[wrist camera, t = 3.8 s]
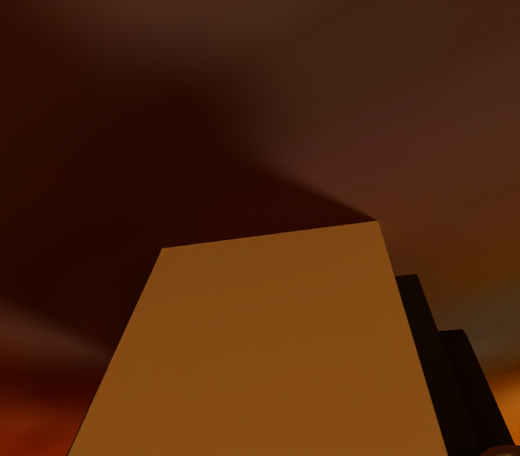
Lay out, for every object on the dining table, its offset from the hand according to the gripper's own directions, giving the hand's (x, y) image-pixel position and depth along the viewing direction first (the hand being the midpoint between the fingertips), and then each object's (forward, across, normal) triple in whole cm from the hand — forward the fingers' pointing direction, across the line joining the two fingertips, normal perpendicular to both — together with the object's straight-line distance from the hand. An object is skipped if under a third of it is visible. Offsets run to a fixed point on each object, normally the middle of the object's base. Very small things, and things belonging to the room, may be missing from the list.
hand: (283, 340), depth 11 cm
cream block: (+1, 0, 0) cm, 1 cm away
